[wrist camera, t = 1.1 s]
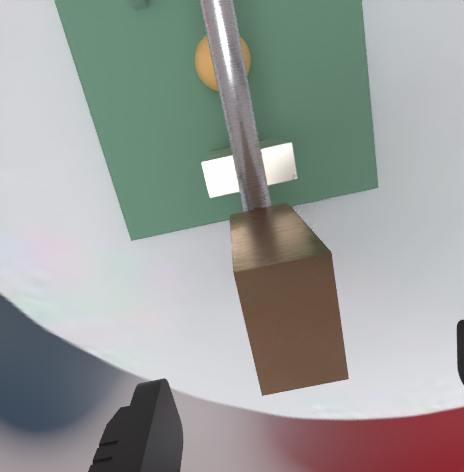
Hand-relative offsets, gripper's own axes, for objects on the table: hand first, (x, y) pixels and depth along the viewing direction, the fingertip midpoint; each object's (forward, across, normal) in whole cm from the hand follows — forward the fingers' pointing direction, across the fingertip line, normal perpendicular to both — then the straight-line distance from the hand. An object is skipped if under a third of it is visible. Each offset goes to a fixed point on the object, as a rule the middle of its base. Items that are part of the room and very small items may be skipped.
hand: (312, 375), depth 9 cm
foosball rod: (+21, 0, -13) cm, 24 cm away
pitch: (+22, 0, -11) cm, 25 cm away
